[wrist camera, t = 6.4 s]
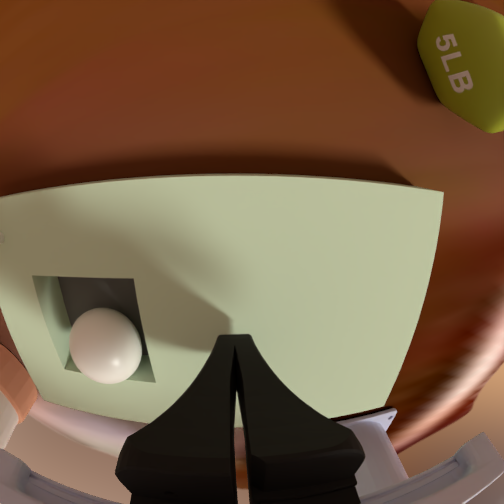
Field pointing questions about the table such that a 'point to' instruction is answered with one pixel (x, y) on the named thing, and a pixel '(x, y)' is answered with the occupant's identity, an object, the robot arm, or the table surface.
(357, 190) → the pale green box
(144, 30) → the table surface
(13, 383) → the pepper shaker
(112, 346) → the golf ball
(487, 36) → the dumbbell
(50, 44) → the table surface
